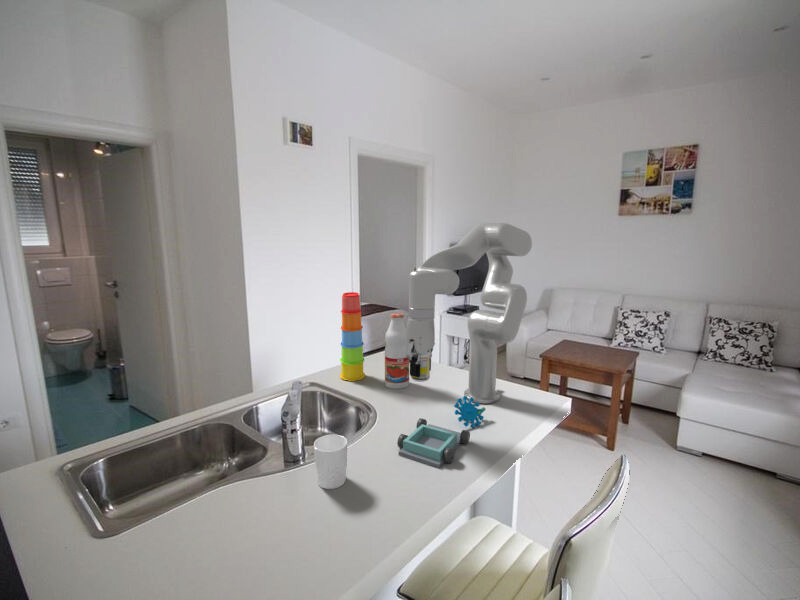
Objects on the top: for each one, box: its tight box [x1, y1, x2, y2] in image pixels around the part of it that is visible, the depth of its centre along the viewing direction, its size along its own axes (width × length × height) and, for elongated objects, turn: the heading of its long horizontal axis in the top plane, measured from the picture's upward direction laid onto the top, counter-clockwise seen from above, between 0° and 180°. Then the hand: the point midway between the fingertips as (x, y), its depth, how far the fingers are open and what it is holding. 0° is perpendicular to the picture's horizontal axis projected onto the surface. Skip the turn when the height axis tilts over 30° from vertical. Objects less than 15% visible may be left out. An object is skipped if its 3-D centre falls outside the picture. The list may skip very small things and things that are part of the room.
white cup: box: [313, 434, 348, 490], centre depth 98 cm, size 8×8×10 cm
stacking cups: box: [339, 291, 366, 382], centre depth 164 cm, size 10×10×35 cm
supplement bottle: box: [410, 350, 431, 383], centre depth 121 cm, size 6×6×10 cm
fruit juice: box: [384, 312, 410, 390], centre depth 156 cm, size 9×9×28 cm
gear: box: [454, 395, 486, 429], centre depth 129 cm, size 11×6×10 cm
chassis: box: [396, 418, 471, 469], centre depth 115 cm, size 18×15×4 cm
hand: (420, 372), depth 122 cm, fingers closed on supplement bottle, 5 cm apart
